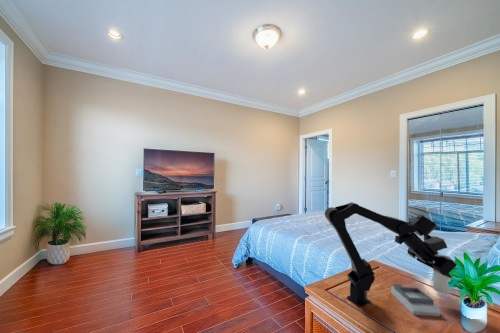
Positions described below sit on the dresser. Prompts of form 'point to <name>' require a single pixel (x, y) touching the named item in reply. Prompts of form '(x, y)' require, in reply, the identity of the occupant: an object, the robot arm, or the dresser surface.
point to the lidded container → (441, 280)
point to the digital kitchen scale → (415, 300)
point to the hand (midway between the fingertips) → (445, 273)
